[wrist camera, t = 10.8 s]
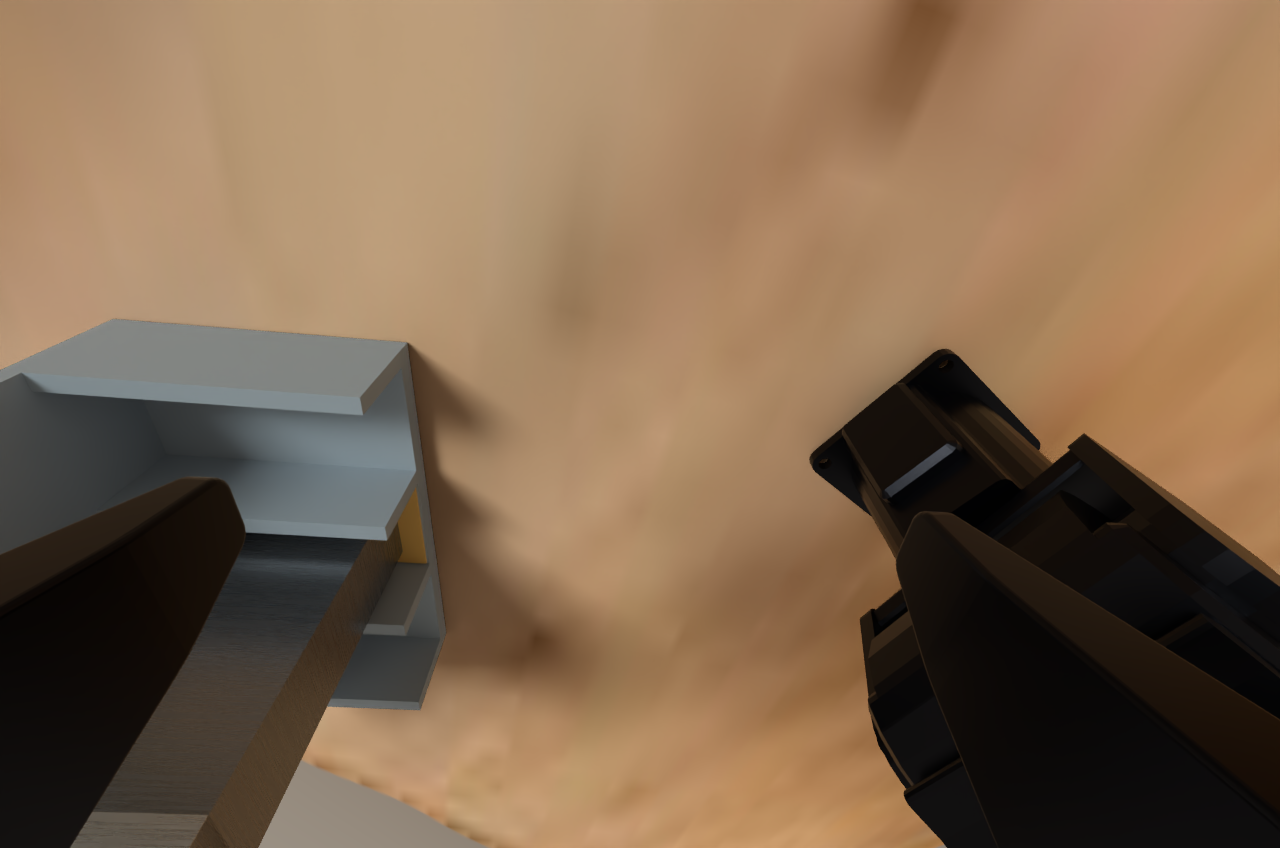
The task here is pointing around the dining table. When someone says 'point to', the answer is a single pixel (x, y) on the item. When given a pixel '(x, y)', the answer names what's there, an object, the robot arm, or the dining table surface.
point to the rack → (238, 457)
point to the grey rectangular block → (246, 696)
